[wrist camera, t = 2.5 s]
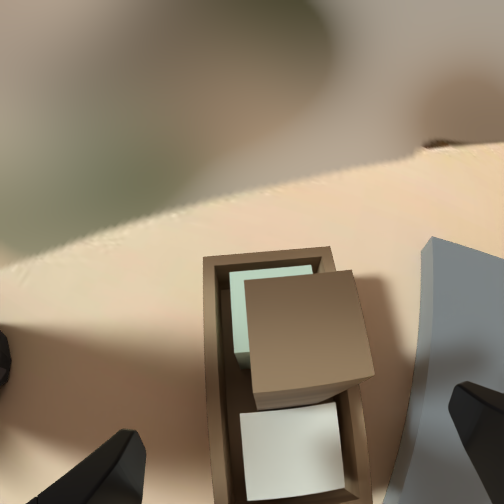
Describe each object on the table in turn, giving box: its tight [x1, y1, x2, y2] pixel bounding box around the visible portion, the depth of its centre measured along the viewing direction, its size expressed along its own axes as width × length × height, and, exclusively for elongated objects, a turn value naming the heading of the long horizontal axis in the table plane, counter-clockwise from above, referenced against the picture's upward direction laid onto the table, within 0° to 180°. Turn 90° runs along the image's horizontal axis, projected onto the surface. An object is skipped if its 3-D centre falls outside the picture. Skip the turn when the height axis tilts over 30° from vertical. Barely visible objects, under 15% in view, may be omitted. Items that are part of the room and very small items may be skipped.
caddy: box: [203, 246, 375, 504], centre depth 11 cm, size 14×7×12 cm, turn 4°
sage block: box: [230, 265, 313, 369], centre depth 16 cm, size 4×4×4 cm
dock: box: [382, 236, 504, 504], centre depth 14 cm, size 12×20×2 cm, turn 163°
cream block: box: [240, 402, 345, 501], centre depth 12 cm, size 4×4×4 cm
